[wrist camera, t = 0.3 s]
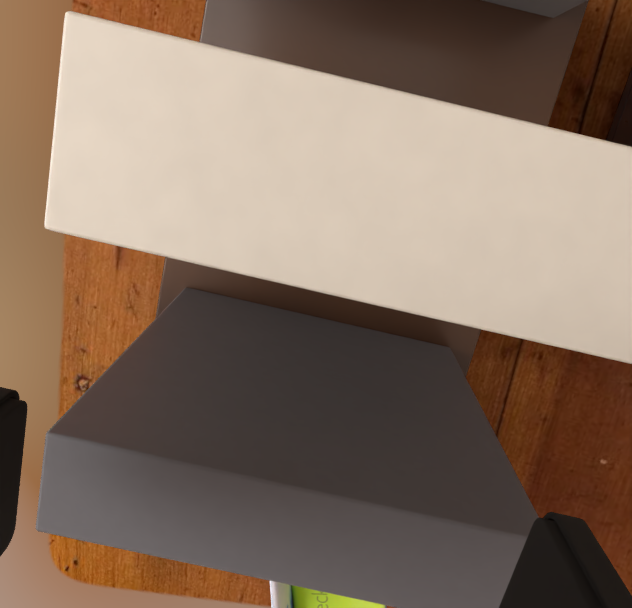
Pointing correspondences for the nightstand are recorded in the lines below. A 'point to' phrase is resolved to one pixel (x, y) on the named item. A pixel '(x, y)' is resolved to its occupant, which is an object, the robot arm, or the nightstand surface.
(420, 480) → the grey book
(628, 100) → the book tray
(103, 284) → the nightstand surface
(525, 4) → the grey book
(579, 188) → the white book
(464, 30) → the book shelf
